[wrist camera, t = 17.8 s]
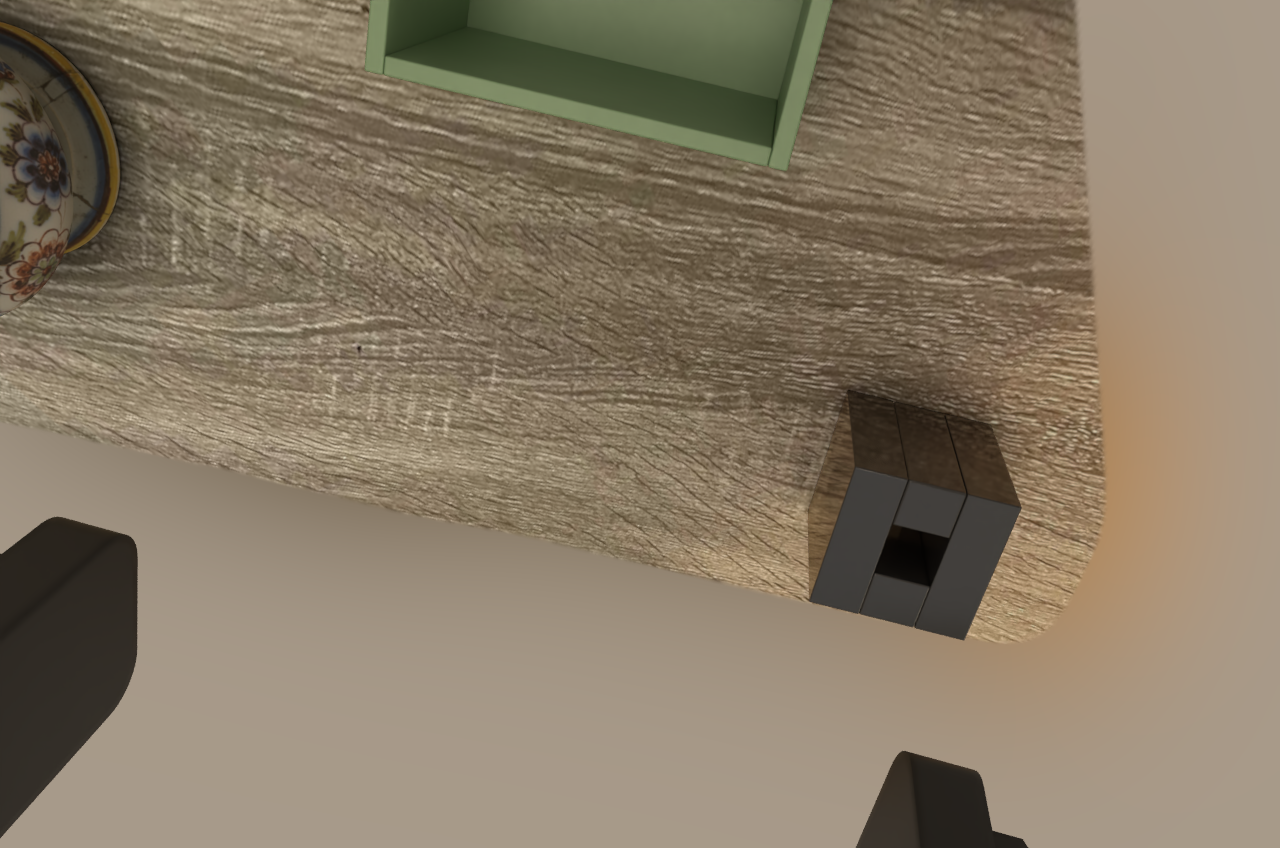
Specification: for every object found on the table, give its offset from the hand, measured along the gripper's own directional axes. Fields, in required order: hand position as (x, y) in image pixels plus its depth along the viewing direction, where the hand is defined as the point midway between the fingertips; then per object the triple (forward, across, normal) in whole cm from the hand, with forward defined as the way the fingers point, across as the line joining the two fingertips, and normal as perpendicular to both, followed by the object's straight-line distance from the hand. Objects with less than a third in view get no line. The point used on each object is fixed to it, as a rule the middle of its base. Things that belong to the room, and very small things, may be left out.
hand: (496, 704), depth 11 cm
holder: (+34, -10, +12) cm, 38 cm away
